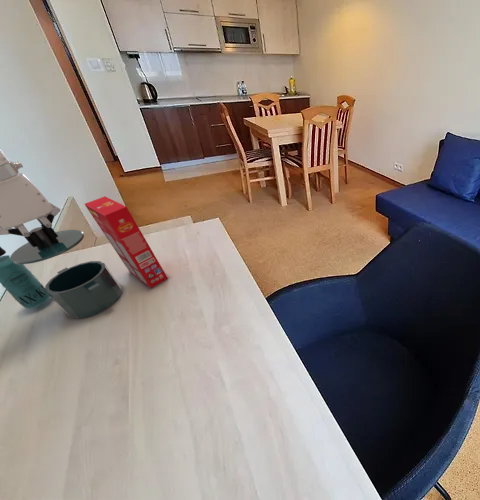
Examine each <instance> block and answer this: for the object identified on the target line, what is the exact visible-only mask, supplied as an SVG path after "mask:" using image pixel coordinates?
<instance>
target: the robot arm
mask: <svg viewBox="0 0 480 500" xmlns="http://www.w3.org/2000/svg"><path fill="white" fill-rule="evenodd" d="M22 168H24V166H23V164H22V163H21V161H11V160H9V158H8V157H7V155H6V154H5V152H4V151H3V150H2V149H1V148H0V236H7V235H14V236H20V237H24V239H25V240H26V241H27V243H28V242H29V243H30V244H31V246H33V247H38V248H40V249H43V248H44V246H43V245H42V244H41V242H40V241H39V240H38V239H37V237H36V236H35V235H34V234H31V232H30V231H29V230H28V229H27V227H26V226H25V225H24V224H25V223H29V222H31V221H34V220H37V221H38V223H39V224H40V227H42V228H43V229H44V230H45V231H46V233H47V234H48V235H49V237H50V238H51V239H52V241H53V242H56V243H57V242H59V241H58V240H57V238H56V237H58V235H57V234H56V233H55V232H56V231H55V230H54V229H53V221H54V219H55V218H56V216H58V214H60V213H61V208H59V207H58V206H56V205H54V204H53V203H51V202H50V201H48V199H47V197H45V195H44V194H43V193H42V191H40V190H39V188H38V187H37V186H36V185H35V183H33V182H32V181H31V180H30V179H29V178H28V177H27V176H26V175H25V174H24V173H22V172H20V171H19V170H20V169H22Z"/></svg>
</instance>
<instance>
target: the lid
mask: <svg viewBox="0 0 480 500" xmlns="http://www.w3.org/2000/svg"><path fill="white" fill-rule="evenodd" d="M29 232H31V234H34V235H35V236H36V237H37V239H38V240H39V241H40V242H41V244H42V245H43V246H44V248H43V249H40V248H38V247H33V246H31V244H30V243H29V242H28V241H27V242H26V243H24V244H23V245H21V246H20V247H18V248H17V249H15V250H14V251H13V252H12V253H11V255H10V256H11V257H10V259H11V261H12V262H13V263H16V264H24V265H28V264H35V263H39V262H42V261H47V260H50V259H52V258H55V257H57V256H60V255H62V254H64V253H67V252H68V251H70V250H72V249H73V248H75V247H76V246H78V245H79V244H80V243H81V242H82V241H83V239H84V237H85V234H84V232H83V231H81V230H79V229H66V230H60V231H55V233H56V234H57V235H58V237H56V238H57V240H58V241H59V242H57V243H56V242H53V241H52V239H51V238H50V237H49V235H48V234H47V233H46V231H45V230H44V229H43V228H42V226H39V227H34V228H33V229H31V230H30V231H29Z"/></svg>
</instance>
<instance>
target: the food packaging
mask: <svg viewBox="0 0 480 500" xmlns="http://www.w3.org/2000/svg"><path fill="white" fill-rule="evenodd" d="M84 206H85V207H86V209H87V210H88V212H89V213H90V215H91V216H92V218H93V219H94V221H95V222H96V224H97V225H98V227H99V229H100V230H101V231H102V233H103V235H104V236H105V237H106V239H107V240H108V242H109V244H110V246H112V248H113V249H114V251H115V252H116V254H117V256H118V257H119V258H120V260H121V261H122V263H123V265H124V266H125V267H126V269H127V270H128V272H129V273H130V274H131V275H132V276H134V277H135V278H137V279H138V280H139V281H141V282H142V283H143V284H144V285H146V286H147V287H149V288H150V289H153V288H154V287H156V286H158V285H159V284H162V283H163V282H164V281H166V280H168V279H169V277H168V276H167V274H166V272H165V270H164V269H163V267H162V266H161V263H160V261H159V260H158V259H157V257H156V255H155V253H154V251H153V250H152V248H151V247H150V245H149V243H148V241H147V239H146V238H145V235H144V234H143V232H142V231H141V230H140V229H141V228H140V227H139V226H138V224H137V223H136V221H135V219H134V216H132V213H131V212H130V210H129V208H128V207H127V206H126V205H124V204H122V203H120V202H118V201H116V200H114V199H111V198H109V197H107V196H106V195H105V196H102V197H99V198H97V199H93V200H91V201H89V202H85V203H84Z"/></svg>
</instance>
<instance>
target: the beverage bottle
mask: <svg viewBox="0 0 480 500" xmlns="http://www.w3.org/2000/svg"><path fill="white" fill-rule="evenodd" d="M6 253H7V252H6V250H5V249H3V248H2V247H1V246H0V284H1V286H2V288H4V289H5V291H6V292H7V293H9V294H10V296H11V297H13V299H14V300H15V301H16V302H17V303H18V304H19V305H21V306H22V308H25V309H33V308H36V307H39V306H41V305H42V304H44V303H46V302H47V301H48V300H49V299H50V298H51V297H50V296H49V295H48V294H47V292H46V291H45V286H44V285H43V283H42V282H40V280H39V279H38V278H37V277H36V276H35V274H34V273H32V271H31V270H29V269H28V268H27V267H26V264H16V263H13V262H12V261H11V259H10V257H11V255H9V254H7V255H5V254H6Z"/></svg>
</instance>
